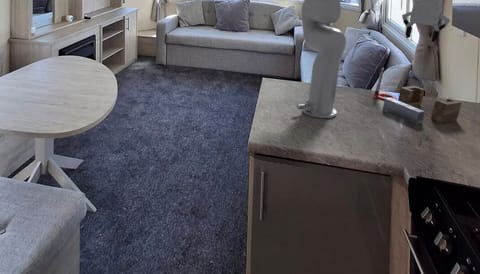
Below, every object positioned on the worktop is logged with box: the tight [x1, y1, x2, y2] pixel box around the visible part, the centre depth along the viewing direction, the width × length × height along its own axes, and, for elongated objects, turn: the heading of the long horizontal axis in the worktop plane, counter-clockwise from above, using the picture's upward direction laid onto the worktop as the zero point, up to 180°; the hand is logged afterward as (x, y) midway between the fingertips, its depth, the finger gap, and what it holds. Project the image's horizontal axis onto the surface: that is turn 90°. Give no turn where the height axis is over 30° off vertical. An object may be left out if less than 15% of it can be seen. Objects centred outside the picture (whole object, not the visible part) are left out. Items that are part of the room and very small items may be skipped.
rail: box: [382, 97, 426, 125], centre depth 149 cm, size 17×3×5 cm, turn 27°
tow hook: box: [372, 67, 397, 101], centre depth 168 cm, size 8×13×9 cm
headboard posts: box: [397, 85, 463, 124], centre depth 154 cm, size 22×8×8 cm, turn 26°
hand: (420, 39), depth 152 cm, fingers open, 9 cm apart
